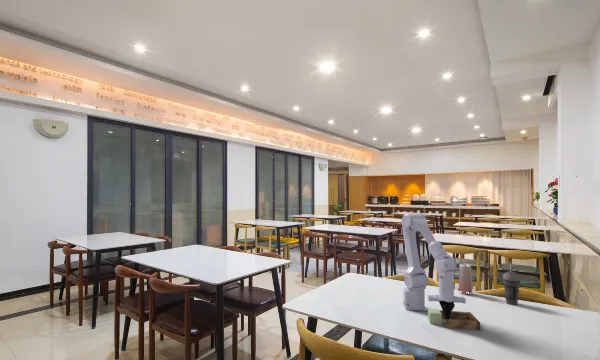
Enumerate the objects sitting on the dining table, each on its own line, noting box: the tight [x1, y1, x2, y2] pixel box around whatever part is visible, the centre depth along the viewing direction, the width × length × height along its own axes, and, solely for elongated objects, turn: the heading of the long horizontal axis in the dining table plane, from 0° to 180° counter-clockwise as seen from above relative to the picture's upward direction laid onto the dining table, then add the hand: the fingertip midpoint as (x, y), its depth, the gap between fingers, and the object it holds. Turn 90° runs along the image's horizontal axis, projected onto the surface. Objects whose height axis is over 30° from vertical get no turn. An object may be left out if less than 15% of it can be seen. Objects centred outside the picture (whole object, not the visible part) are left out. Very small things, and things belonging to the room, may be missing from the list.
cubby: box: [438, 309, 481, 331], centre depth 129 cm, size 13×10×3 cm
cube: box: [427, 308, 443, 325], centre depth 131 cm, size 4×4×4 cm
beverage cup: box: [502, 261, 521, 306], centre depth 152 cm, size 7×7×20 cm
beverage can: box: [458, 263, 473, 296], centre depth 166 cm, size 6×6×15 cm
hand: (446, 319), depth 130 cm, fingers closed
